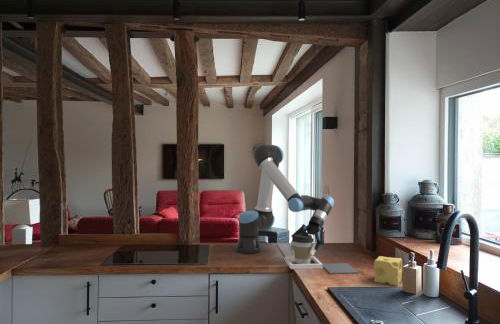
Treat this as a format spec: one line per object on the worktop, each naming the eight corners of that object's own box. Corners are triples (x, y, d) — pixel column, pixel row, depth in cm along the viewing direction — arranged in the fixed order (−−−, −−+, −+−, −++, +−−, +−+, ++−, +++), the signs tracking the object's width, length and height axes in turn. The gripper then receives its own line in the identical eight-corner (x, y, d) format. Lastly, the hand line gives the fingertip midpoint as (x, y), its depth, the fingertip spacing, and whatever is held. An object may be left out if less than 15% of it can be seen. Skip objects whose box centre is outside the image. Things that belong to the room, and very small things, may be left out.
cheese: (398, 286, 161) (398, 263, 161) (372, 282, 166) (372, 259, 166) (402, 280, 169) (402, 258, 169) (378, 276, 175) (378, 254, 175)
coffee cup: (317, 264, 195) (317, 235, 196) (306, 268, 187) (306, 238, 187) (299, 260, 203) (299, 232, 203) (287, 264, 194) (287, 235, 194)
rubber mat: (320, 264, 194) (320, 263, 194) (346, 264, 195) (346, 263, 195) (330, 274, 178) (330, 272, 178) (358, 273, 179) (358, 272, 179)
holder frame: (284, 260, 202) (284, 256, 202) (314, 259, 204) (314, 256, 204) (290, 268, 186) (290, 264, 186) (322, 268, 188) (322, 264, 188)
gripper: (340, 227, 197) (323, 260, 186) (302, 221, 215) (285, 251, 204) (334, 218, 193) (317, 251, 183) (296, 213, 211) (279, 243, 201)
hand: (300, 251), depth 193 cm, fingers open, 13 cm apart
